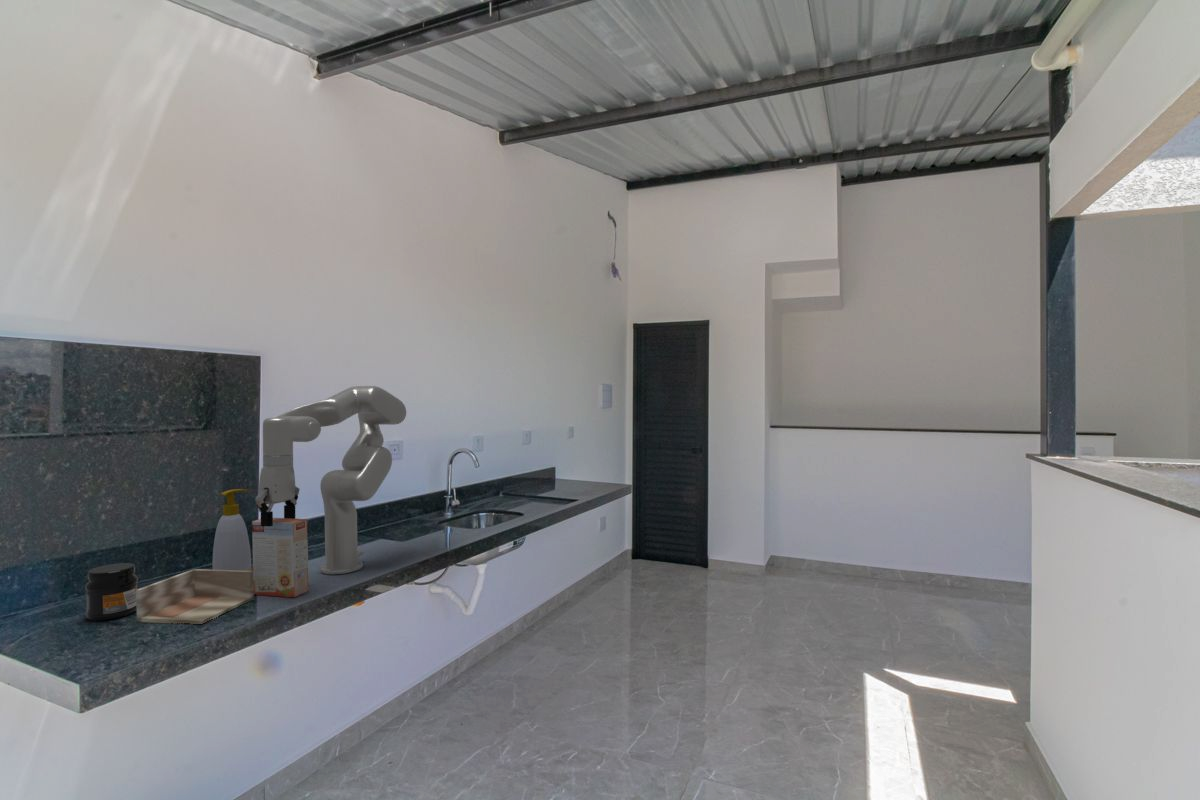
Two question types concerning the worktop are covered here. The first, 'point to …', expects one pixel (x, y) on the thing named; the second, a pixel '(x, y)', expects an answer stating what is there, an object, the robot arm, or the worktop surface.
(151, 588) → the beige tray
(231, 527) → the soap bottle
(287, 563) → the cracker box
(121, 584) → the supplement container
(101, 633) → the worktop surface
